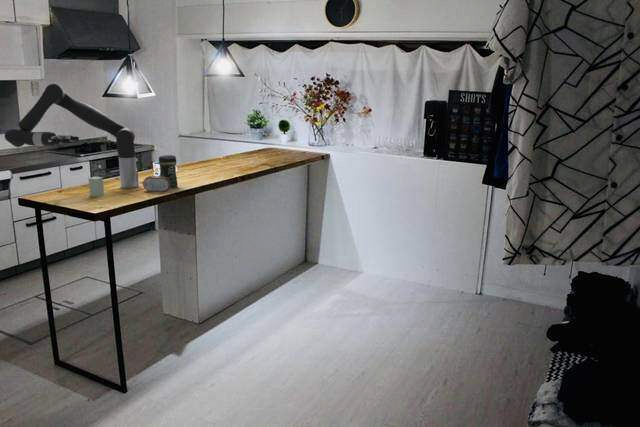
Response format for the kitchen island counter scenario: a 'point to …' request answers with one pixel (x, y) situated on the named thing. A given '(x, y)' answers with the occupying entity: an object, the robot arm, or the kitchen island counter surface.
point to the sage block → (96, 186)
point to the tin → (157, 183)
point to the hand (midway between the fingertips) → (74, 139)
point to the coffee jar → (168, 168)
